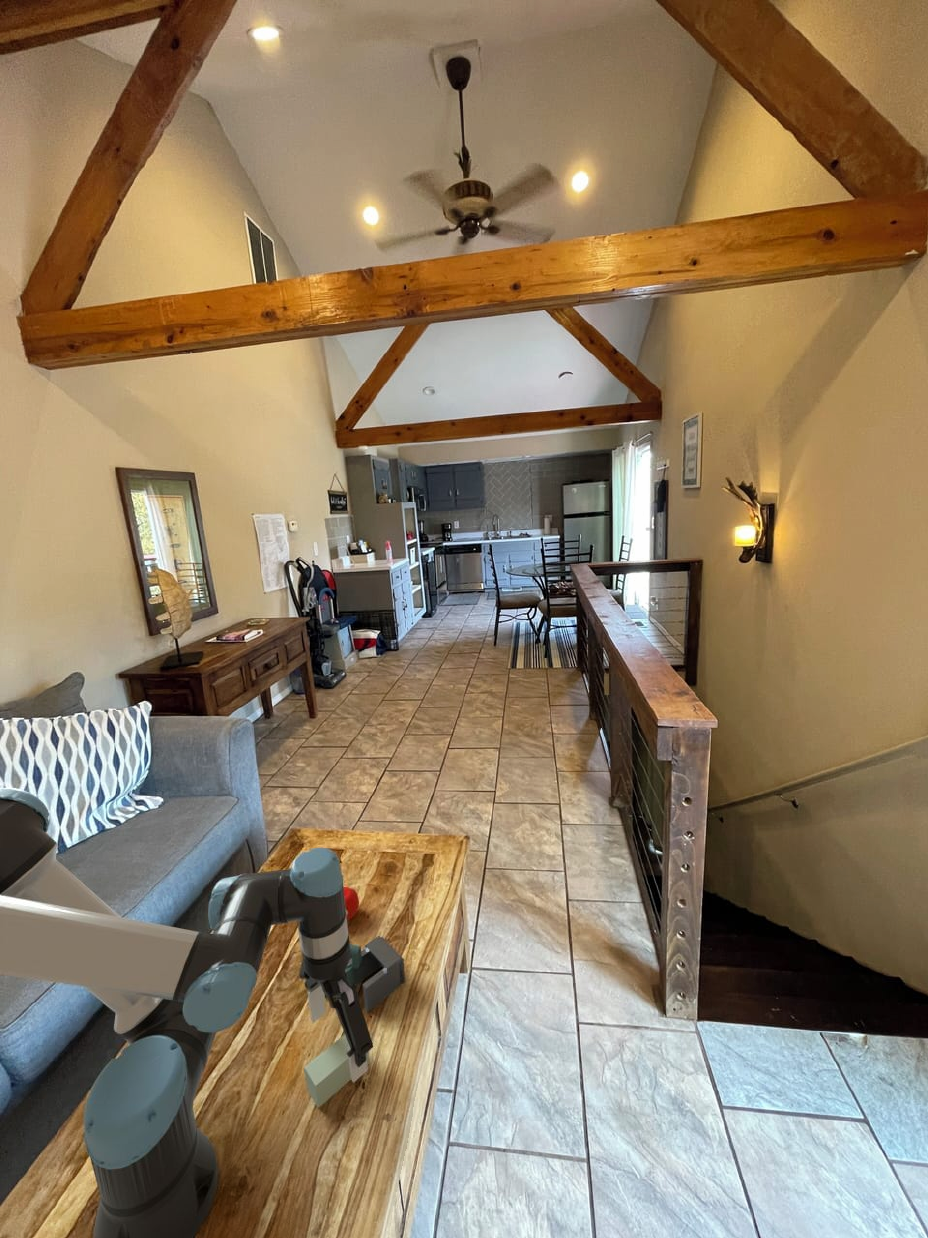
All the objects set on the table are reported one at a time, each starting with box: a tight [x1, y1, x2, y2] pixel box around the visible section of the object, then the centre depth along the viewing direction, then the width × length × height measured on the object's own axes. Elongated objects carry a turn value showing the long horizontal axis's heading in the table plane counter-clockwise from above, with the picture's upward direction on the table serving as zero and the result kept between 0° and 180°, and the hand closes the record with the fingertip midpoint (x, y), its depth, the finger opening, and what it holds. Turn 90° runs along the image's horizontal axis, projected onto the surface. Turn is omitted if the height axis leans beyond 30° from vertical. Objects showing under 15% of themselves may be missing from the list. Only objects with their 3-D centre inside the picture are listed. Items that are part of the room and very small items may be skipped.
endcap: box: [346, 935, 406, 1013], centre depth 105 cm, size 9×8×7 cm
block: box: [303, 1033, 370, 1109], centre depth 88 cm, size 10×4×5 cm, turn 133°
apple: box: [343, 886, 360, 922], centre depth 122 cm, size 8×8×7 cm
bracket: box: [318, 942, 362, 998], centre depth 105 cm, size 9×9×9 cm
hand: (338, 1044), depth 87 cm, fingers open, 13 cm apart
